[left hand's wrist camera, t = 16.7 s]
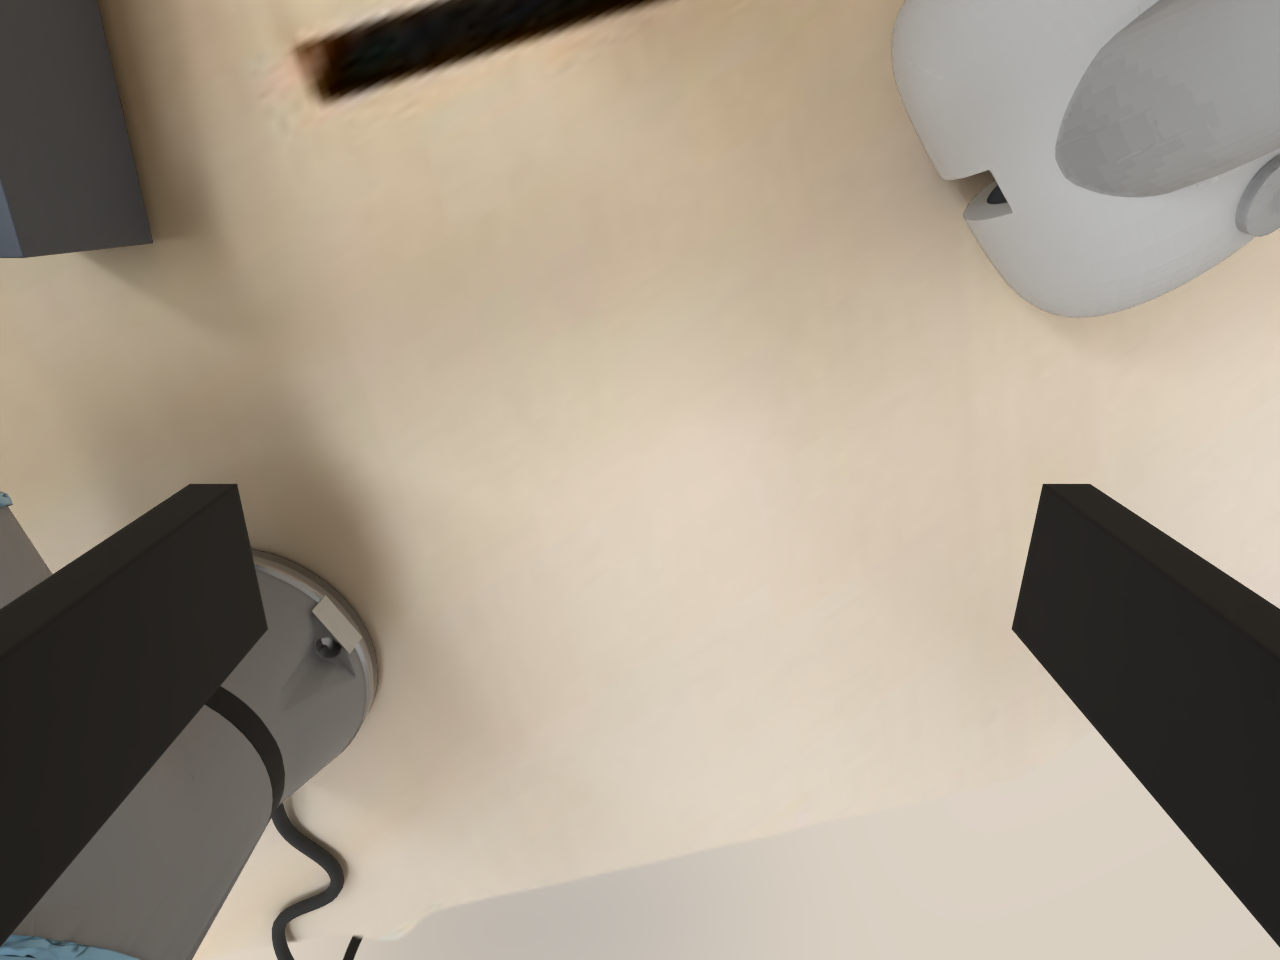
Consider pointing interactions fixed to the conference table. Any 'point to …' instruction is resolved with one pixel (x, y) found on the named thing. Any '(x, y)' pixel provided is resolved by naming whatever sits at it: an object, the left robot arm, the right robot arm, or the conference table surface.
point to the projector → (1100, 136)
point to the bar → (63, 135)
